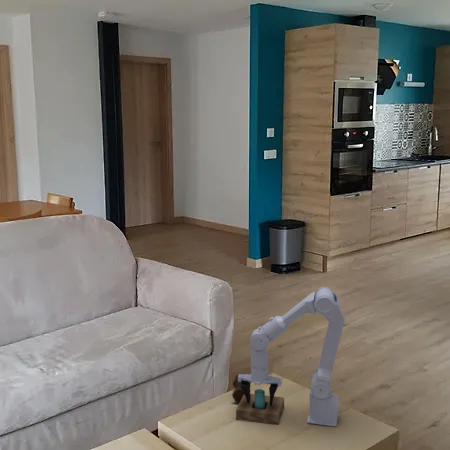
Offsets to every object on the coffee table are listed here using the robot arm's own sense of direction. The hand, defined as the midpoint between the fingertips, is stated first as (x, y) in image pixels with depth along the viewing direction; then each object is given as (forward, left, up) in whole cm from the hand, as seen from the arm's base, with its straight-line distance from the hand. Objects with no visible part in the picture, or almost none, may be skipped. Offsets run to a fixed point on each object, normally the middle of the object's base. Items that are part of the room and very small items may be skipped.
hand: (259, 403), depth 199 cm
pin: (0, 0, -4) cm, 4 cm away
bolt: (+10, -13, -4) cm, 17 cm away
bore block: (0, -1, -4) cm, 4 cm away
